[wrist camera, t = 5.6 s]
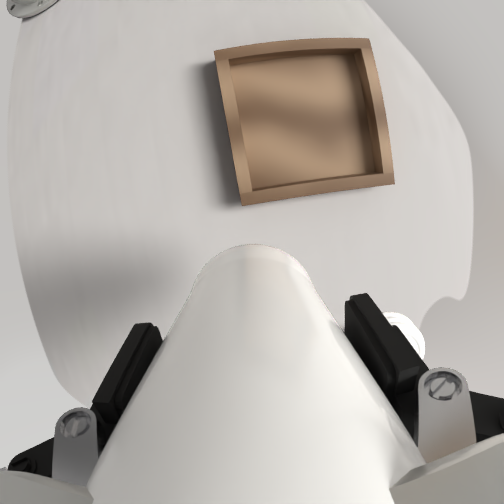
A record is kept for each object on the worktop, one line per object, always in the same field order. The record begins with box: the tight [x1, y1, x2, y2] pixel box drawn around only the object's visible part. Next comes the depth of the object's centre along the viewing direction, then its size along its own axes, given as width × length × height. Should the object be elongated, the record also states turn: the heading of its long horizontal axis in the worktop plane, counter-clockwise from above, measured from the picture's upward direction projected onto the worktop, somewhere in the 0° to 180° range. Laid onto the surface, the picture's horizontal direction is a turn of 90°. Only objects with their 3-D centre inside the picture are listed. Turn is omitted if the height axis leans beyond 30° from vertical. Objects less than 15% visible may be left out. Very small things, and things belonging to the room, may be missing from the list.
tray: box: [214, 38, 395, 206], centre depth 23 cm, size 13×13×2 cm
